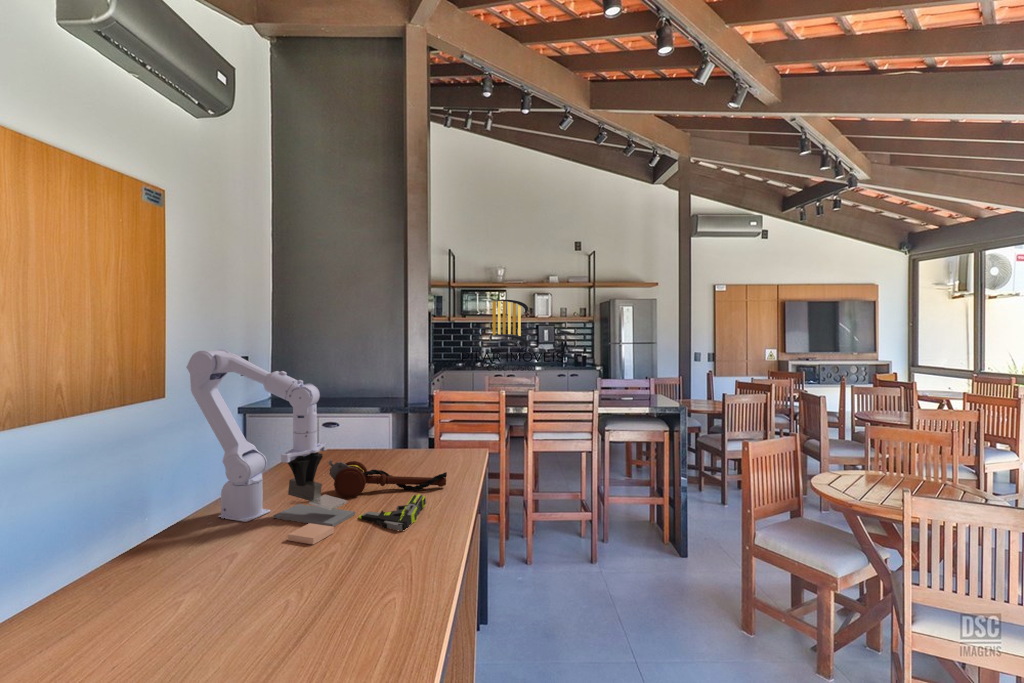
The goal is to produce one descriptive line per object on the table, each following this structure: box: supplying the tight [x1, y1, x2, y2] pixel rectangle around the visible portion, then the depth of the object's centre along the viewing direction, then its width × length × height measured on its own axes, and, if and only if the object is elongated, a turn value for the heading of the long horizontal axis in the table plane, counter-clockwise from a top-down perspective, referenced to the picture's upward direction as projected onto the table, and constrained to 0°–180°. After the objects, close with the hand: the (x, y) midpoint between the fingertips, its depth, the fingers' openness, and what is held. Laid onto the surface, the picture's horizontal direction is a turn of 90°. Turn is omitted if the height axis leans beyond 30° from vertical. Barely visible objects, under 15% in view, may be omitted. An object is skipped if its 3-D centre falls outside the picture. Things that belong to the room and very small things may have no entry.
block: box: [287, 523, 335, 545], centre depth 115 cm, size 2×7×7 cm
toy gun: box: [358, 493, 427, 531], centre depth 129 cm, size 20×4×15 cm
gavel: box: [327, 458, 448, 499], centre depth 150 cm, size 10×34×10 cm
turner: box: [287, 477, 348, 510], centre depth 128 cm, size 15×6×4 cm, turn 72°
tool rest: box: [272, 503, 356, 528], centre depth 128 cm, size 18×9×1 cm, turn 72°
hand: (305, 483), depth 129 cm, fingers closed on turner, 3 cm apart
